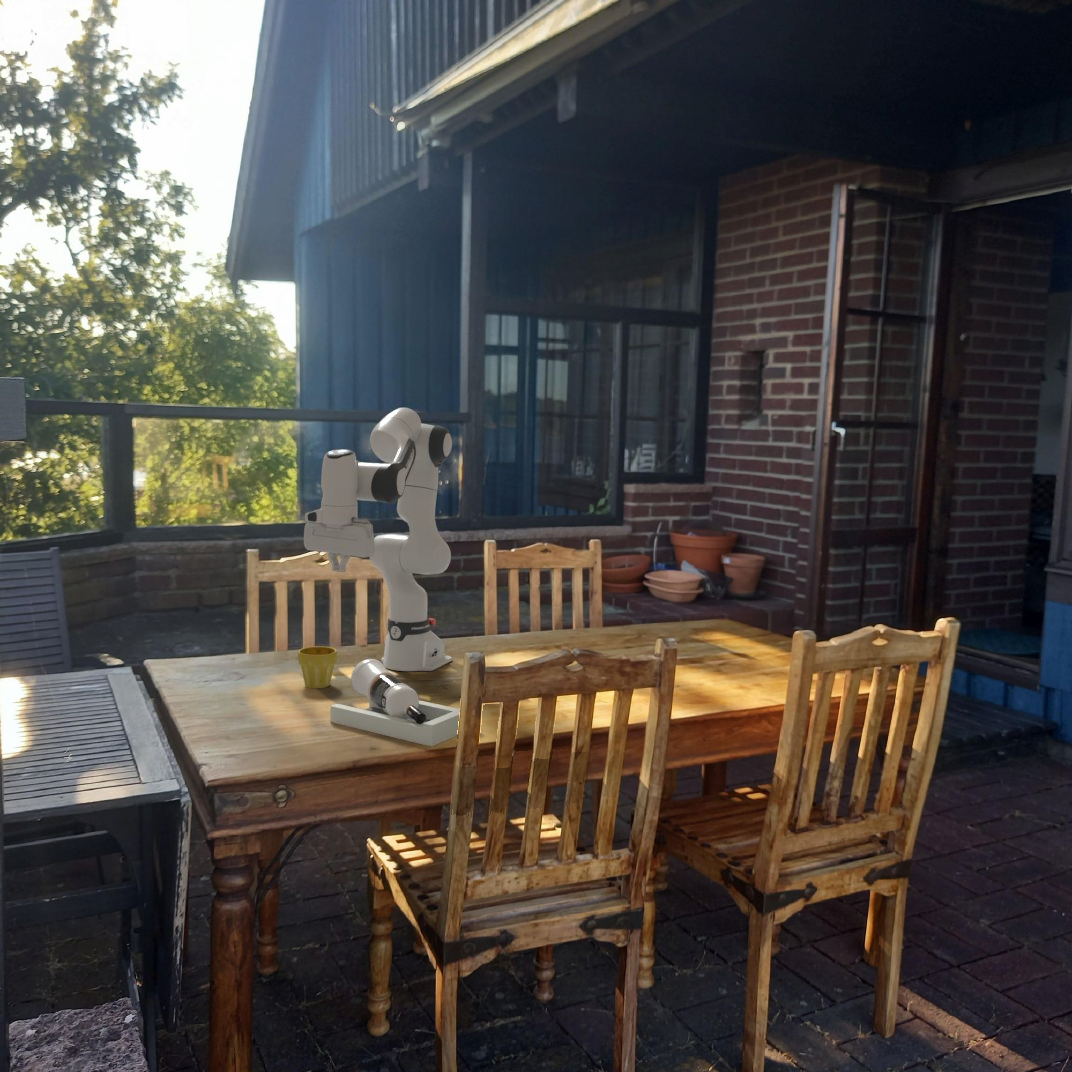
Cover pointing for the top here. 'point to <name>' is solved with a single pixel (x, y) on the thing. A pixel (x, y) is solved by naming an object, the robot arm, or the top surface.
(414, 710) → the vodka
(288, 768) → the top surface
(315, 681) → the plant pot
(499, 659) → the top surface
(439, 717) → the cradle
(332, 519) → the robot arm
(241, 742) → the top surface
